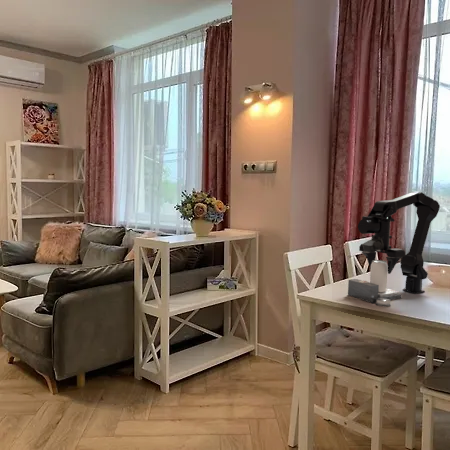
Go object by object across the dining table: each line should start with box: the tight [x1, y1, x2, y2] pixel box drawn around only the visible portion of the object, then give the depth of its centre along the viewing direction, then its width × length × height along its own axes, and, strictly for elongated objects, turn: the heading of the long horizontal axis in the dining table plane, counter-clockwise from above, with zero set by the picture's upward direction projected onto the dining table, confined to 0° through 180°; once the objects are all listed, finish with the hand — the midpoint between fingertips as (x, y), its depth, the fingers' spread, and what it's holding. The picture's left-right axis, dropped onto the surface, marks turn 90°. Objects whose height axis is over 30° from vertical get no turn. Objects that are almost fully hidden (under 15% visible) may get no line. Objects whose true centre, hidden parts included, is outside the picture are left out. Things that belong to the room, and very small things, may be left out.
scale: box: [347, 278, 402, 304], centre depth 187 cm, size 16×13×7 cm
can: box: [369, 259, 388, 292], centre depth 187 cm, size 6×6×12 cm
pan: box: [378, 288, 401, 297], centre depth 188 cm, size 11×11×1 cm
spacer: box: [375, 298, 391, 307], centre depth 175 cm, size 5×5×2 cm
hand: (380, 271), depth 187 cm, fingers open, 9 cm apart
